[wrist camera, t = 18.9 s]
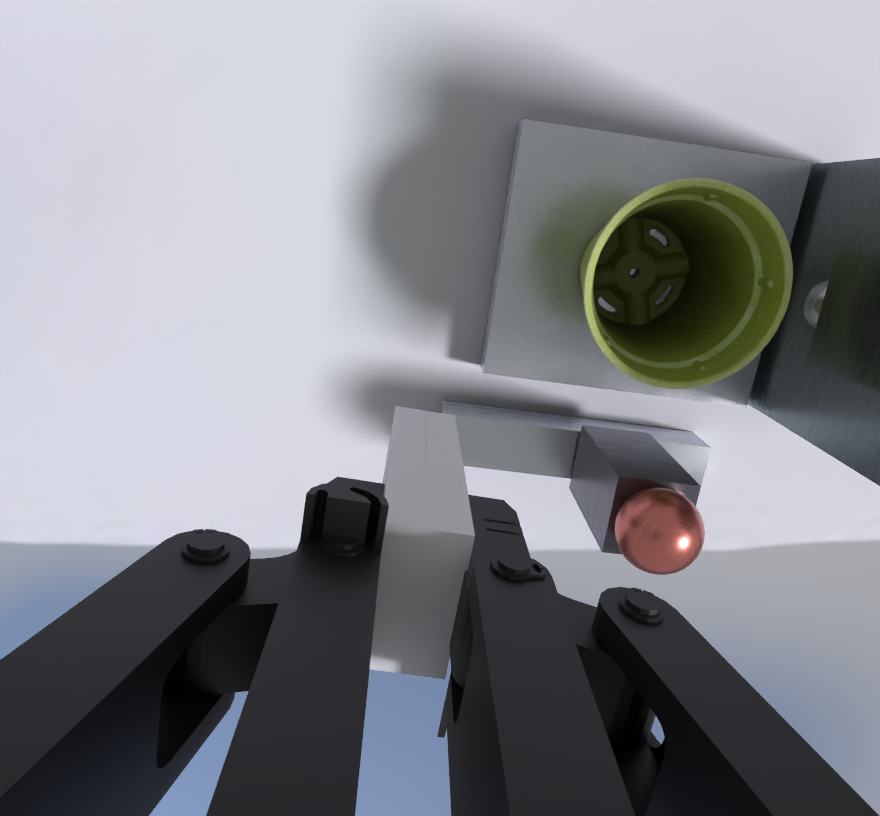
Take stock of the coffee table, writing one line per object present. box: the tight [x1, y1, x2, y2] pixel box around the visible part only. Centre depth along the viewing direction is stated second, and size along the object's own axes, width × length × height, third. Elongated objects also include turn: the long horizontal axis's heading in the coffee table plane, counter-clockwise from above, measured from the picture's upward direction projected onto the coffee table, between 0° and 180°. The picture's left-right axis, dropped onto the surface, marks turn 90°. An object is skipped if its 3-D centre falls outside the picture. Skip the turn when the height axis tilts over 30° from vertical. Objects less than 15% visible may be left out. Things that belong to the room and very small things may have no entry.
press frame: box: [441, 119, 880, 492], centre depth 33 cm, size 23×20×20 cm
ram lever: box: [569, 425, 705, 575], centre depth 36 cm, size 4×4×11 cm
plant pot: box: [580, 178, 793, 389], centre depth 36 cm, size 9×9×9 cm
